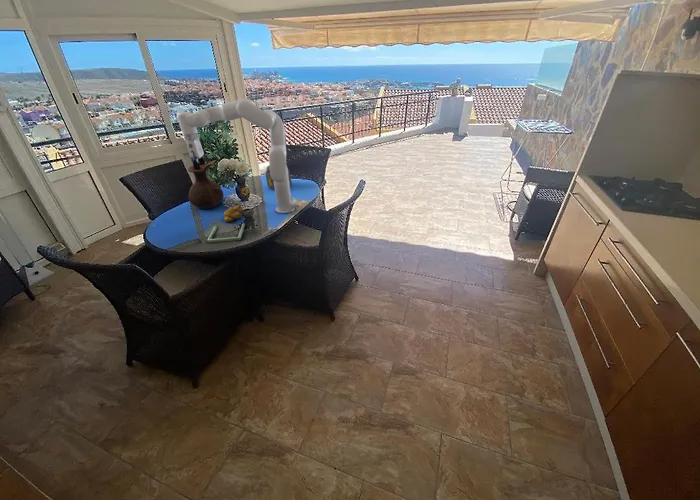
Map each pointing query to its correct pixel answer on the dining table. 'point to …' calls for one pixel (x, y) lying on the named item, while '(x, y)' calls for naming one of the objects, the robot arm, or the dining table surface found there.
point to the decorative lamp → (270, 180)
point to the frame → (224, 238)
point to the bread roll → (233, 213)
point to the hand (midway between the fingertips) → (200, 167)
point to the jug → (204, 189)
